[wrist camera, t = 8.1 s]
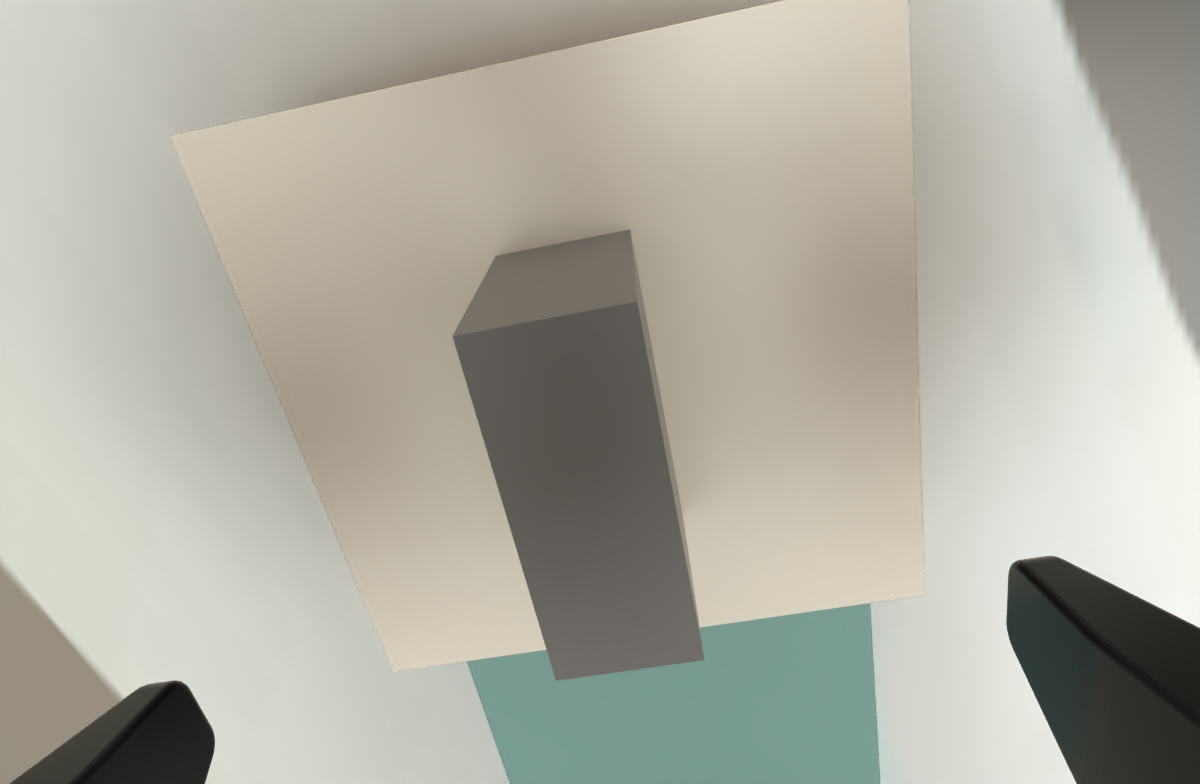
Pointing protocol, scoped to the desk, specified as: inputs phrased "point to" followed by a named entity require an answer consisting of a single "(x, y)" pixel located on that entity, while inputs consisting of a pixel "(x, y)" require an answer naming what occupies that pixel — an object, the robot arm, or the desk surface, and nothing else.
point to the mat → (699, 710)
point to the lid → (598, 332)
